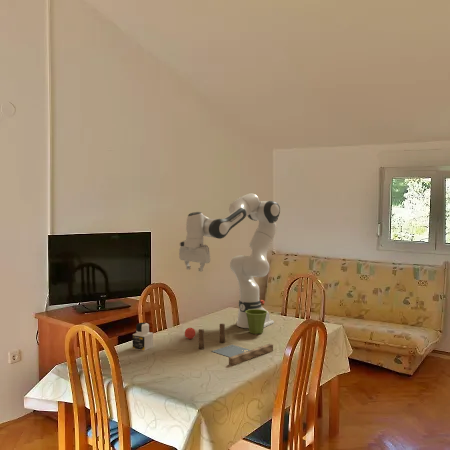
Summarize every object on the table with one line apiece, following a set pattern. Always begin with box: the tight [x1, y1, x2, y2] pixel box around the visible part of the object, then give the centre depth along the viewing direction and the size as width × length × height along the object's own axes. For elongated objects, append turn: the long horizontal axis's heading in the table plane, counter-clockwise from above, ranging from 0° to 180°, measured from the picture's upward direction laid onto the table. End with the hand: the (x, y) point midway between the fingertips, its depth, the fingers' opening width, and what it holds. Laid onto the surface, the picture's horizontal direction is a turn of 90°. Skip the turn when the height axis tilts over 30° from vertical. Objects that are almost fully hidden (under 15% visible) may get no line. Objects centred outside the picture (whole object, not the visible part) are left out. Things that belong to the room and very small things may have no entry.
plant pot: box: [245, 309, 268, 335], centre depth 268 cm, size 12×12×11 cm
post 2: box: [219, 323, 226, 344], centre depth 251 cm, size 3×3×9 cm
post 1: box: [198, 328, 205, 350], centre depth 241 cm, size 3×3×9 cm
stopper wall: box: [228, 343, 274, 366], centre depth 228 cm, size 28×2×3 cm, turn 136°
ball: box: [184, 327, 197, 340], centre depth 257 cm, size 6×6×6 cm
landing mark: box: [211, 344, 251, 358], centre depth 236 cm, size 14×14×1 cm
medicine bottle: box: [132, 322, 154, 352], centre depth 242 cm, size 7×7×12 cm
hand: (194, 270), depth 259 cm, fingers open, 8 cm apart
